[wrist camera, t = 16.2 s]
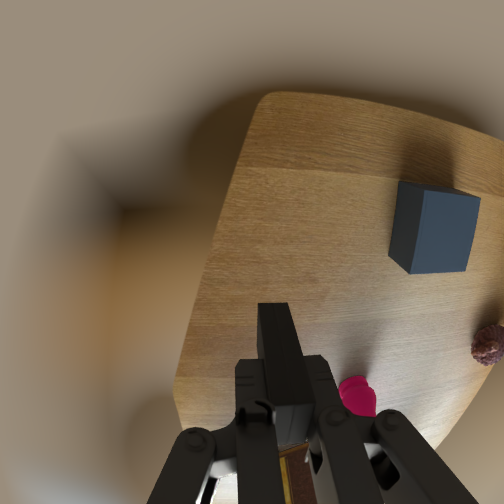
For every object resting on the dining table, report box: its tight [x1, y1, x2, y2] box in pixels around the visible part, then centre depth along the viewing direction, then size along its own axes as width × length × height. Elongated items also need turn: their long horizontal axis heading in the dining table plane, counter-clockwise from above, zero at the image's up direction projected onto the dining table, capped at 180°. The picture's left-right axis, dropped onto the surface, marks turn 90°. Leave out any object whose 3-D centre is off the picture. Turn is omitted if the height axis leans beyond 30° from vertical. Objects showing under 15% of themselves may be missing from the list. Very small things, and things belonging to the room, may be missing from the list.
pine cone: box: [471, 324, 504, 366], centre depth 49 cm, size 18×10×10 cm
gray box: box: [388, 181, 481, 274], centre depth 38 cm, size 7×12×12 cm
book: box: [279, 443, 317, 504], centre depth 53 cm, size 22×8×25 cm, turn 121°
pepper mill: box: [338, 376, 376, 417], centre depth 45 cm, size 7×7×20 cm
